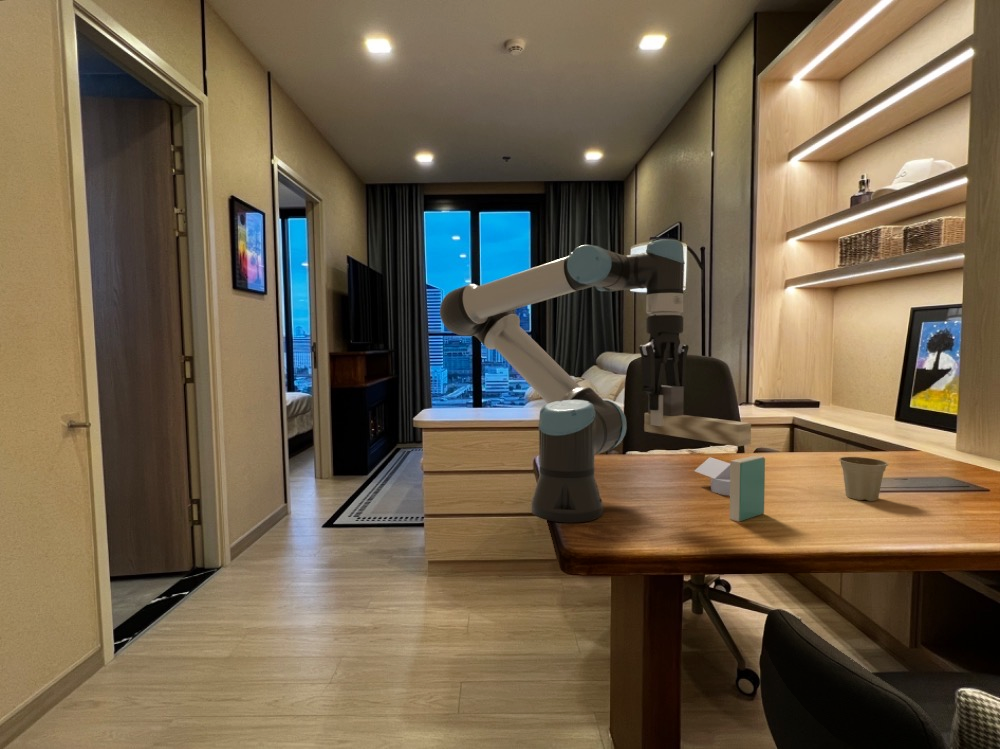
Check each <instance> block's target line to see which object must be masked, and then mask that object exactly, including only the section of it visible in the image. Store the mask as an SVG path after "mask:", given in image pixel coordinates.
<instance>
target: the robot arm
mask: <svg viewBox="0 0 1000 749" xmlns="http://www.w3.org/2000/svg"><path fill="white" fill-rule="evenodd" d="M684 255H685V254H684V245H683V243H682V242H681V241H679V240H677V239H657V240H653V241H650V242H648V243H647V245H646V250H645V252H641V253H637V254H636V253H635V254H620V253H617V252H614V251H611V250H608V249H605V248H603V247H601V246H599V245H593V244H582V245H580V246H579V245H578V246H577V247H576V248H574V250H572V252H570V254H569V255H567V256H565V257H562V258H559V259H555V260H553V261H550V262H547V263H543V264H541V265H538V266H534V267H531V268H529V269H526V270H523V271H520V272H516V273H513V274H511V275H508V276H504V277H502V278H499V279H495V280H493V281H490V282H487V283H484V284H481V285H478V284H475V283H470V284H467V285H464V286H461V287H458V288H456V289H453V290H451V291H450V292H448V293H447V294H446V295H445V296H444V298H442V301H441V303H440V308H439V316H440V320H441V322H442V324H443V325H444V326H445V328H446V329H447V330H448V331H450V332H452V333H453V334H456V335H458V336H469V337H470V336H472V337H473V336H474V337H475V338H477V339H478V340H479V342H481V343H482V345H483V346H484V347H485V348H486V349H488V350H496V351H497V353H499V355H501V356H502V358H503V359H505V360H506V361H507V363H509V365H510V366H511V367H512V369H514V370H515V371H516V372H517V373H518V374H519V375H520V376H521V378H523V379H524V380H525V381H526V382H527V384H528V385H530V387H531V388H532V389H533V390H534V391H535V392H536V393H537V394H538V395H539V396H540V398H542V399H543V401H544V402H545V403H546V404H544V405H543V406H542V407H541V409H540V411H539V420H538V423H537V424H538V426H537V427H538V442H539V444H538V445H539V446H538V447H539V448H538V449H539V453H538V454H539V460H538V461H539V463H538V464H539V477H538V479H537V483H536V486H535V490H534V494H533V497H532V498H531V503H530V504H531V505H530V506H531V508H530V510H531V513H532V514H533V515H534V516H535V517H537V518H539V519H542V520H546V521H551V522H558V523H584V522H589V521H594V520H596V519H598V518H601V517H602V516H603V513H604V504H603V499H602V497H601V495H600V492H599V491H600V490H599V488H598V484H597V481H596V478H595V477H596V476H595V456H596V455H599V454H601V453H606V452H610V451H611V450H613V449H614V448H616V447H617V446H618V445H620V443H622V441H623V440H624V438H625V436H626V433H627V430H628V428H627V427H628V426H627V425H628V424H627V417H626V415H625V413H624V411H623V409H622V408H621V407H620V406H619V405H618V404H617V403H615V402H613V401H611V400H606V399H603V398H602V397H601V396H600V395H599V394H598V393H597V392H595V390H594V389H593V388H591V387H590V386H587V387H586V386H584V387H582V386H580V384H578V383H577V381H575V379H573V378H572V377H571V376H570V375H569V374H568V373H567V371H565V370H564V368H563V367H562V366H560V365H559V364H558V363H557V361H556V360H555V359H553V358H552V357H551V356H550V355H549V354H548V352H546V351H545V350H544V349H543V348H542V347H541V346H540V345H539V343H538V342H536V341H535V339H533V338H532V337H531V336H530V335H529V334H528V333H527V331H525V329H524V328H522V327H521V326H520V324H521V319H520V317H519V315H517V313H516V312H517V311H516V310H517V309H520V308H523V307H527V306H531V305H533V304H538V303H540V302H544V301H548V300H551V299H554V298H557V297H561V296H563V295H567V294H571V293H573V292H578V291H580V290H581V291H582V290H585V289H589V288H592V287H595V289H596V290H597V291H600V292H616V291H627V290H635V289H636V290H637V289H641V290H642V289H646V298H645V299H646V302H645V303H646V307H645V308H646V310H645V312H646V314H647V315H648V316H647V317H646V318H645V320H646V323H645V324H646V327H645V328H646V330H645V332H646V333H647V334H648V335H649V339H648V343H645V344H640V345H639V348H638V349H639V353H640V356H641V391H642V392H643V393H644V394H646V395H648V394H649V396H650V405H649V408H650V410H651V418H650V425H654V426H663V395H660V393H661V386H662V385H663V384H662V383H663V378H664V373H665V380H666V385H667V386H682V387H684V391H685V390H686V386H687V384H686V383H687V381H686V380H687V356H688V352H689V348H690V347H689V345H688V344H682V342H681V340H680V334H682V333H683V332H684V316H683V315H681V314H683V313H684V282H685V280H684V276H685V275H684V274H685V258H684ZM664 371H665V372H664Z"/></svg>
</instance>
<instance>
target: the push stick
mask: <svg viewBox="0 0 1000 749" xmlns="http://www.w3.org/2000/svg"><path fill="white" fill-rule="evenodd" d="M684 391H685V390H684V387H682V386H667V384H666V385H665V384H664V385H663V384H662V386H661V393H660V395H663V426H654V425H650V418H651V410H650V408H649V405H650V396H649V394H647V395H648V396H647V398H648V400H647V406H648V407H647V408H648V409H647V412H644V415H643V416H644V417H643V418H644V424H643V425H644V426H643V429H644V432H646V433H647V432H648V433H651V434H658V435H664V436H671V437H678V438H682V439H683V438H684V439H691V440H695V441H702V442H708V443H709V442H710V443H713V444H721V445H728V446H733V447H742V446H747V445H751V443H752V442H751V441H752V434H751V433H752V422H745V421H736V420H728V419H723V418H722V419H719V418H714V417H713V418H712V417H704V416H694V415H686V414H684V398H685V397H684V394H685V393H684Z"/></svg>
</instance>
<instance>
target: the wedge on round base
mask: <svg viewBox="0 0 1000 749" xmlns="http://www.w3.org/2000/svg"><path fill="white" fill-rule="evenodd" d="M694 472H696V473H697V474H701V475H703V476H706V477H708V478H710V491H711V492H713V493H714V494H717V493H718V494H717V495H722V496H729V497H730V462H727V461H723V460H720V459H717V458H713V457H711V456H710V457H708V458H707V459H706V460H705V461H703V462H702V464H700V465H698V467H697V468H696V469H695V470H694Z"/></svg>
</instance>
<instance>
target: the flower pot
mask: <svg viewBox="0 0 1000 749" xmlns="http://www.w3.org/2000/svg"><path fill="white" fill-rule="evenodd" d="M838 461H839V462H840V466H841V467H842V476H843V482H844V490H845V495H846V497H848V498H850V499H853V500H857V501H864V500H866V501H868V502H874V501H877V500H879V495H880V490H881V486H882V481H883V476H884V473H885V471H886V469H887V466H889V463H888V462H887V461H885V460H881V459H878V458H877V459H876V458H870V457H862V456H841V457H839V458H838Z"/></svg>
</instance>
